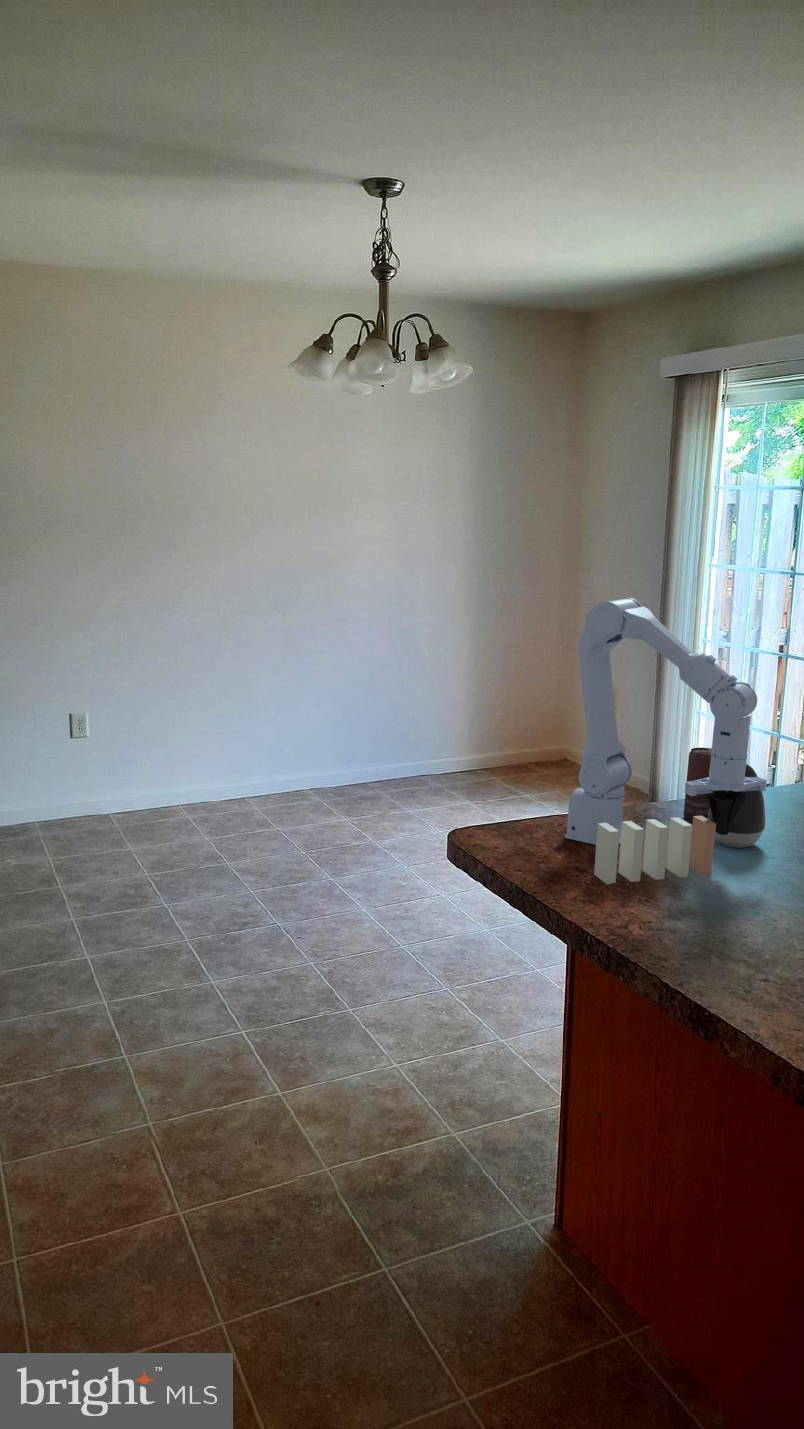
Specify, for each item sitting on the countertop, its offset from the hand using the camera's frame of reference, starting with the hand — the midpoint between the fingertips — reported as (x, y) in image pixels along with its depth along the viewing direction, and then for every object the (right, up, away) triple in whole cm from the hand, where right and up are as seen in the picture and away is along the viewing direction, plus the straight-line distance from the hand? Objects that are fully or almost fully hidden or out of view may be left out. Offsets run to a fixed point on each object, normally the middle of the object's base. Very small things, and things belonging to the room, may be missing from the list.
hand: (721, 833), depth 178 cm
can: (+4, -1, +28) cm, 29 cm away
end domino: (-4, -6, 0) cm, 7 cm away
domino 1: (-21, -7, -5) cm, 22 cm away
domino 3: (-12, -7, -2) cm, 14 cm away
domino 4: (-8, -7, -1) cm, 10 cm away
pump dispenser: (+7, -4, +15) cm, 17 cm away
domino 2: (-16, -7, -4) cm, 18 cm away
